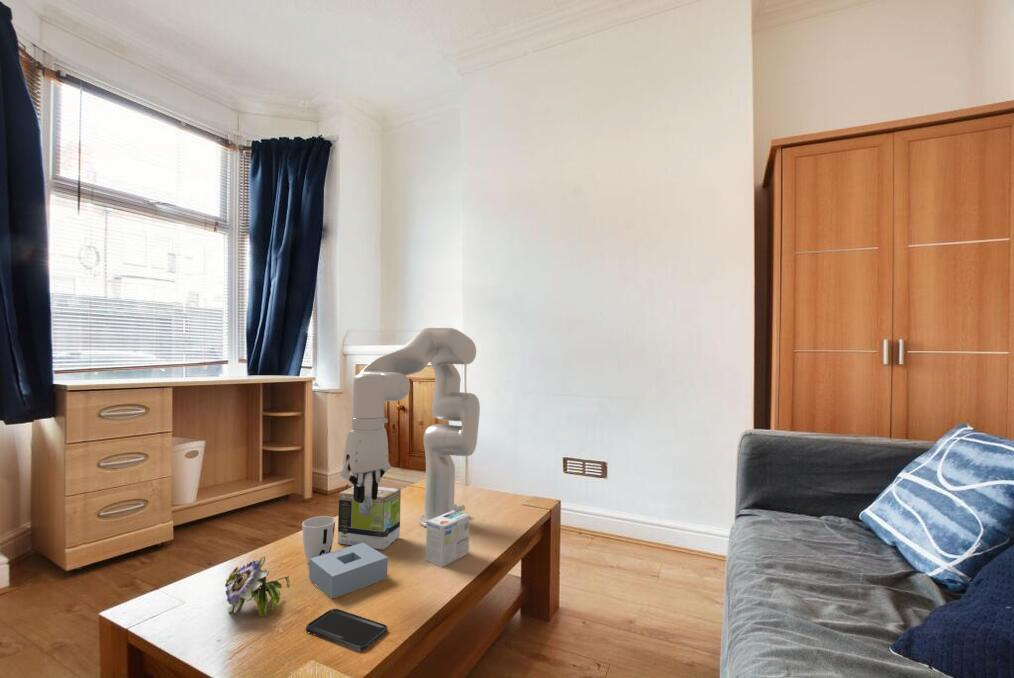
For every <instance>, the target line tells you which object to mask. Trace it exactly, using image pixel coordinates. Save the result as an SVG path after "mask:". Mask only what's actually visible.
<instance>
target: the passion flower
mask: <svg viewBox="0 0 1014 678" xmlns="http://www.w3.org/2000/svg"><path fill="white" fill-rule="evenodd" d="M265 561H266V556H265V555H264V556H261V557H260V558H259V560H258V559H256V560H252V561H249V563H247V562H246V566H245V565H243V566H242V567H238V566H236V567H235V568H234V569H233V571H231V572H230V574H229V576H228V577H227V578H225V584H224V586H225V588H226V590H225V594H226V596H227V599H226V601H227V603H228V604H229V605H231V607H230V609H229V610H228V614H232V612H233V613H234V614H237V613H238V612H240V611H241V609H242V608H243V606H244V603H245V602H247V603H248V602H250V601H251V600H252V599H253V600H254V601H255V603H257V609H258V610H257V611H258V614H259V616H262V617H264V618H265V617H267V609H268V606H269V599H268V595H269V597H270V601H271V602H270V603H271V605H272V611H274V610H275V609H276V608H277V606H278V604H279V601H280V599H281V591H280V589H281V588H282V587H283V585H282V583H280V580H283V579H285V580H286V587H287V588H290V587H291V586H290V585H291V584H290V579H289V577H290V575H287V576H284V577H280V578H278V579H275V580H271V581H268V582H267V576H268V575H269V573H270V570H269V569H261V568H262V567H263V565H264V564H265ZM267 593H268V594H267Z"/></svg>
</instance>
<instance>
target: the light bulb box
mask: <svg viewBox="0 0 1014 678" xmlns="http://www.w3.org/2000/svg"><path fill="white" fill-rule="evenodd" d="M470 519H471V517H470V514H467V513H463V512H462V511H459V512H457V511H454V510H452V511H450V512H447V513H445V514H443V515H440V516H438V517H435V518H433V519H430V520H427V527H426V537H425V538H426V539H425V540H426V541H425V542H426V543H425V544H426V545H425V546H426V547H425V549H426V550H425V560H426V562H429V563H431V564H434V565H436V566H437V567H438V566H439V567H441V568H444V567H446V566H448V565H450V564H451V563H453V562H455V561H458V560H459V559H461V558H463V557H464V556H466V555H468V554H469V552H470V551H469V550H470Z"/></svg>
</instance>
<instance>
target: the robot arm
mask: <svg viewBox="0 0 1014 678" xmlns="http://www.w3.org/2000/svg"><path fill="white" fill-rule="evenodd" d="M476 357H477V346H476V344H475V342H474V341H473V339H472V338H470V337H469V336H467V334H465V333H463V332H462V331H460V330H459V329H457V328H453V327H427V328H423V329H421V330H420V331H419V332H417V333H416V334H415V335H414V336H413V337H412V339H410V341H408V342H407V343H406V344H405V345H404V346H403V347H402V348H399V349H397V350H395V351H391V352H389V353H387V354H384V355H383V356H379V357H377V358H375V359H374V360H373V361H371V362H370V363H368V364H367V365H366V366H365V367H364V368H363V369H362V370H361V371H360V372H359V373H358V374H356V375H355V376H354V378H353V384H352V411H351V412H352V415H351V429H350V430H348V432H347V435H346V437H345V438H346V439H345V443H344V449H343V450H344V451H343V458H342V471H341V472H340V476H339V477H340V478H343V479H345V480H348V481H349V482H350V483H351V484H352V485H353V487H354V493H353V497H354V500H355V501H356V502H358V503H363V502H364V486H362V480H363V473H366V472H371V471H373V493H372V499H373V500H376V499H377V494H378V486H379V483H380V482H381V479H382V477H383V476H384V475H385V473H387V472H388V471H389V470H391V466H392V465H391V464H390V461H389V442H388V434H387V429H386V428H385V424H388V422H389V418H388V417H385V402H399V401H402V400H404V399H405V398H406V397H407V396H408V395H409V393H410V390H411V383H410V379H409V378H408V376H410V375H414V374H417V373H420V372H421V371H423V370H424V369H425V368H426V367H427V365H428V364H430V365H431V367H432V369H433V373H434V377H435V379H434V388H433V389H434V390H433V396H432V397H433V398H432V408H431V412H432V416H433V417H434V418H435V419H437V420H440V421H449V422H461V423H460V424H461V425H453V424H443V423H441V424H440V423H437V424H432V425H430V426H428V427H427V428H426V429H425V431H424V434H423V448H424V453H425V484H424V485H425V488H424V514H423V515H422V516H420V517H419V524H420V525H421V526H423V527H425V528H427V520H430V519H433V518H435V517H438V516H440V515H443V514H445V513H447V512H450V511H452V510H454V511H457V512H463V511H465V509H466V505H464V504H461V505H457V504H455V485H456V484H455V483H456V466H455V463H454V460H453V458H452V457H451V456H457V457H470V456H472V455H473V454H474V453H475V451H476V448H477V443H478V434H479V423H480V422H479V421H480V415H481V414H480V413H481V410H480V409H481V406H480V404H481V403H480V400H479V398H478V396H476V394H474V393H472V392H461V374H460V372H459V370H458V369H457V367H455V365H470V364H472V363H473V362H474V361H475V359H476ZM350 472H351V474H350Z"/></svg>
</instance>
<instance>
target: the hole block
mask: <svg viewBox="0 0 1014 678" xmlns="http://www.w3.org/2000/svg"><path fill="white" fill-rule="evenodd" d="M388 561H389V559H388V556H387V555H385V554H384V553H381V552H380V551H378V549H375V548H372V547H370V546H368V545H367V544H365V543H360V544H356V545H349V546H347V547H344V548H340V549H337V550H335V551H331V552H330V553H327V554H324V555H320V556H317V557H314V558H311V559H310V563H309V568H308V569H309V570H308V571H309V573H308V577H309V578H308V580H309V579H310V580H311V581H312V582H313V583H314V584H313V583H312V582H311V581H310V580H309V581H310V582H311V583H312V584H313V585H315V584H316V585H317V586H318V587H319V588H320V589H321V590H320V589H319V588H318V587H317V586H316V585H315V586H316V587H317V588H318V589H319V590H320V591H321V592H323V593H324V592H325V593H326V594H327V595H328V596H329V597H328V596H327V595H326V594H325V593H324V594H325V595H326V596H327V597H328V598H329V599H331V600H334V599H336V598H338V597H341V596H344V595H346V594H348V593H351V592H354V591H357V590H359V589H363V588H366V587H367V586H369V585H373V584H375V583H378V582H380V581H381V582H382V581H383V580H386V579H388V565H389V564H388ZM333 598H334V599H333Z"/></svg>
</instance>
